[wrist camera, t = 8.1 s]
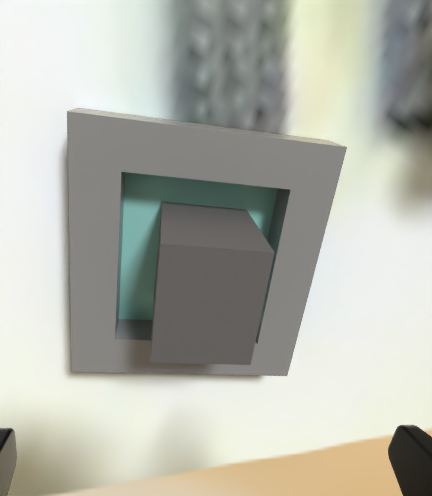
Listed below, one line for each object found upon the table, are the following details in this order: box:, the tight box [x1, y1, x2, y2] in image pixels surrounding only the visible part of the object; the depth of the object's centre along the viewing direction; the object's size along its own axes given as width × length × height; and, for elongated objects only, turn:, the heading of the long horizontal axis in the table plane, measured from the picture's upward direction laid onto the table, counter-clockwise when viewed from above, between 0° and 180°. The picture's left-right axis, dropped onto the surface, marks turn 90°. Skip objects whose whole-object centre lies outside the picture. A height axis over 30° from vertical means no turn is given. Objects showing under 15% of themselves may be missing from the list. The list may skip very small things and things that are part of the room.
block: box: [150, 202, 274, 365], centre depth 16 cm, size 4×5×5 cm
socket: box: [67, 108, 347, 376], centre depth 18 cm, size 11×12×2 cm
